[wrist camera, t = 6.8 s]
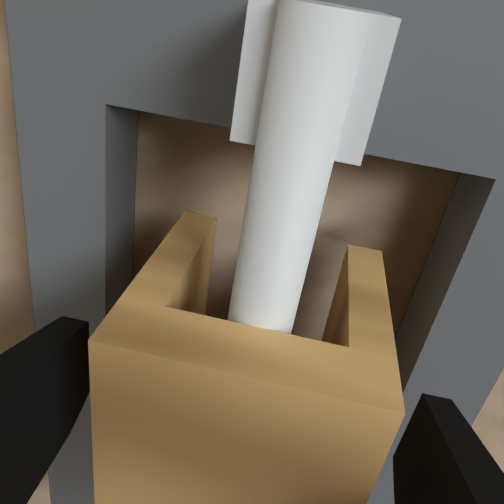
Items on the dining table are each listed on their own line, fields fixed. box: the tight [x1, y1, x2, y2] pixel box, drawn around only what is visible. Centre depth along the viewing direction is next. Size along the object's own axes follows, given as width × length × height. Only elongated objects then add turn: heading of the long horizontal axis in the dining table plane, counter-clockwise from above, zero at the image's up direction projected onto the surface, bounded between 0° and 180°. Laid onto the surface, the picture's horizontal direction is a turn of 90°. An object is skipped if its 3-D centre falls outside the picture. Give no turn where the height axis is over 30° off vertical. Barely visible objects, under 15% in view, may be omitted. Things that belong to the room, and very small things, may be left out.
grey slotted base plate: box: [4, 0, 504, 504], centre depth 12 cm, size 20×12×5 cm, turn 171°
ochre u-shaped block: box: [88, 211, 405, 504], centre depth 10 cm, size 5×5×5 cm
